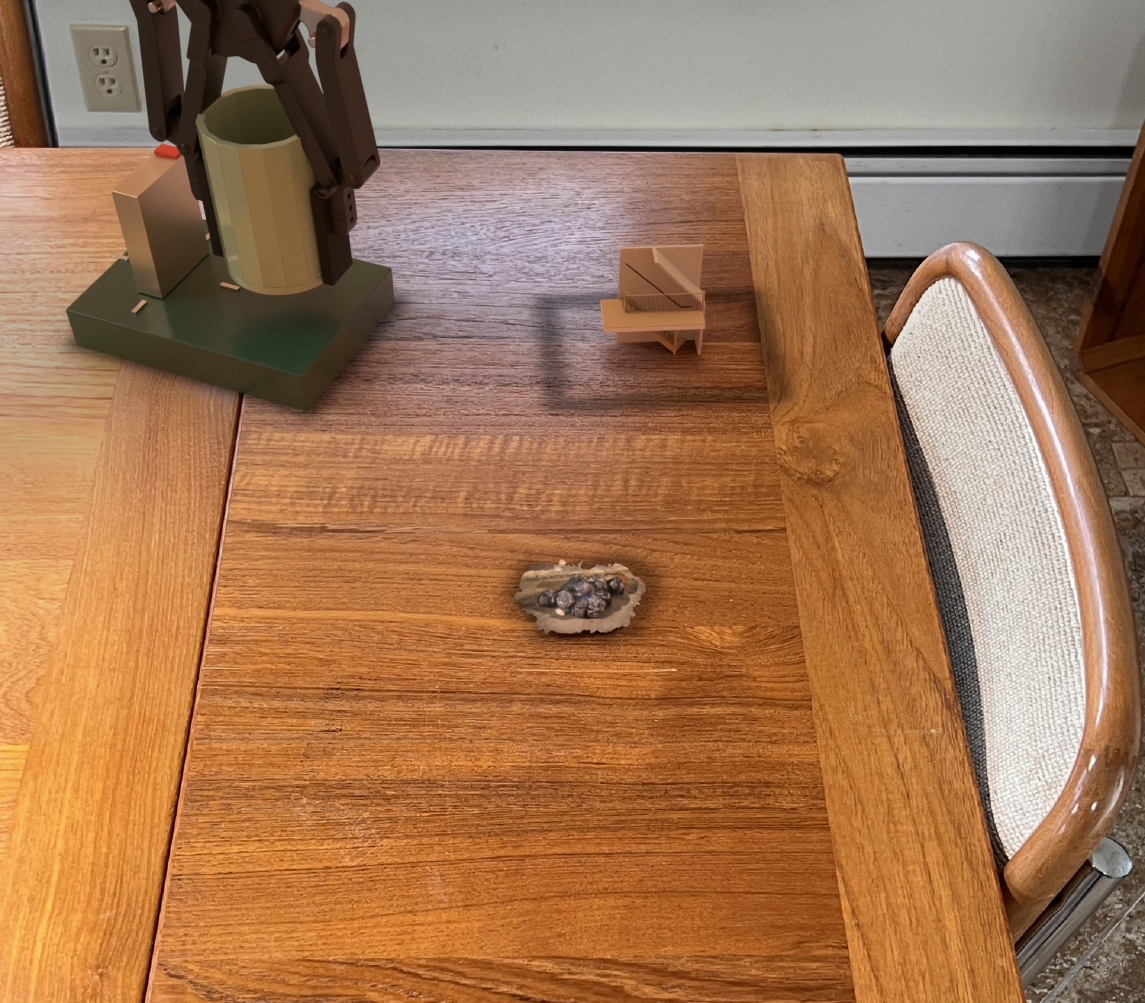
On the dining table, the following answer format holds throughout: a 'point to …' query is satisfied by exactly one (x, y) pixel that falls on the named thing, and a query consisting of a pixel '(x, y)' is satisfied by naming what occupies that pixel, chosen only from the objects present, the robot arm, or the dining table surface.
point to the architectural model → (658, 296)
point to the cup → (260, 192)
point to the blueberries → (579, 597)
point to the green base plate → (235, 327)
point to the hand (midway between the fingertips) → (283, 258)
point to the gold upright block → (160, 222)
